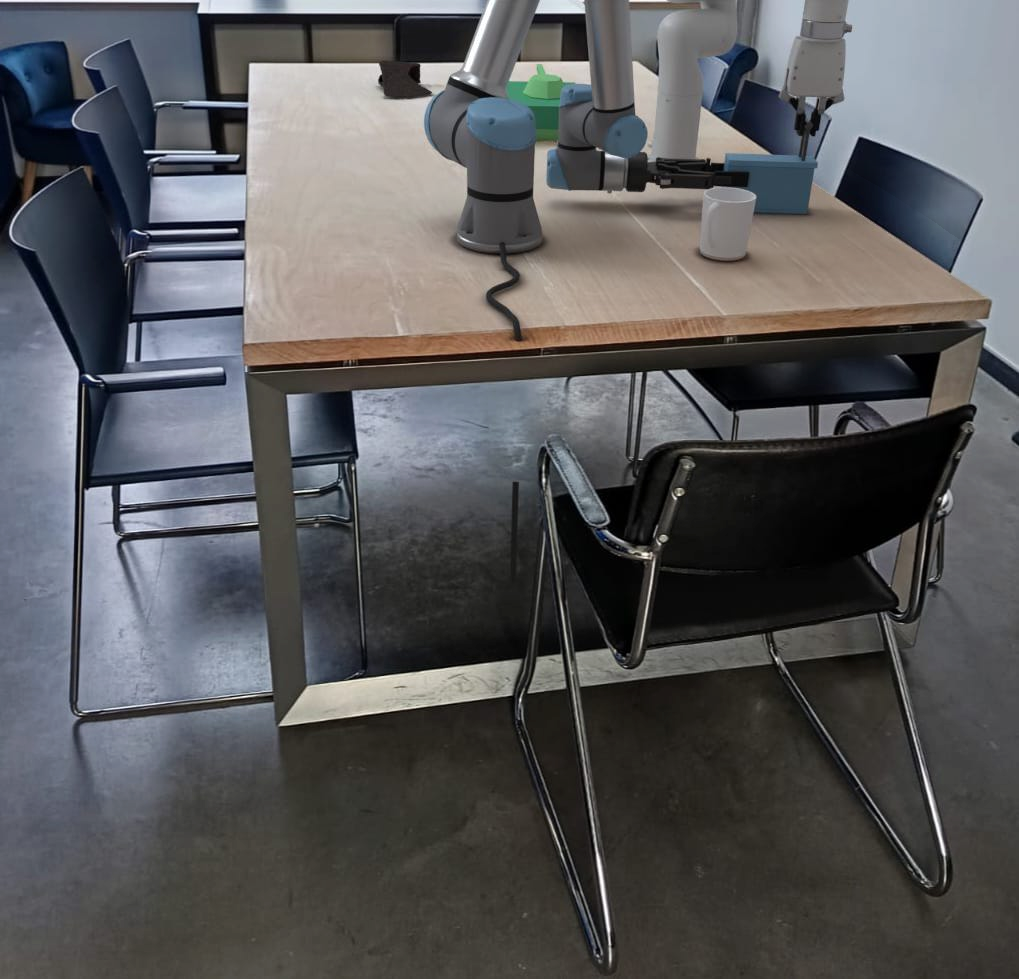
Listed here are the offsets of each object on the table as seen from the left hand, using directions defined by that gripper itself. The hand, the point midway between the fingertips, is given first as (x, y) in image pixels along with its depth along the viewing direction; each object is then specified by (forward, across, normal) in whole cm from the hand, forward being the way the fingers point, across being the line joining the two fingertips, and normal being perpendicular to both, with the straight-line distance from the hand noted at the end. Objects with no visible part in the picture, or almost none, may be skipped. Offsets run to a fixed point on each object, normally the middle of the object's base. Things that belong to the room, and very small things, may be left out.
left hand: (745, 175), depth 212 cm
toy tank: (-40, -62, -6) cm, 74 cm away
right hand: (+10, 0, +8) cm, 13 cm away
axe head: (-78, -98, -6) cm, 126 cm away
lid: (+4, 0, +2) cm, 5 cm away
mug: (-8, +28, -6) cm, 30 cm away
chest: (+4, 0, -6) cm, 8 cm away
